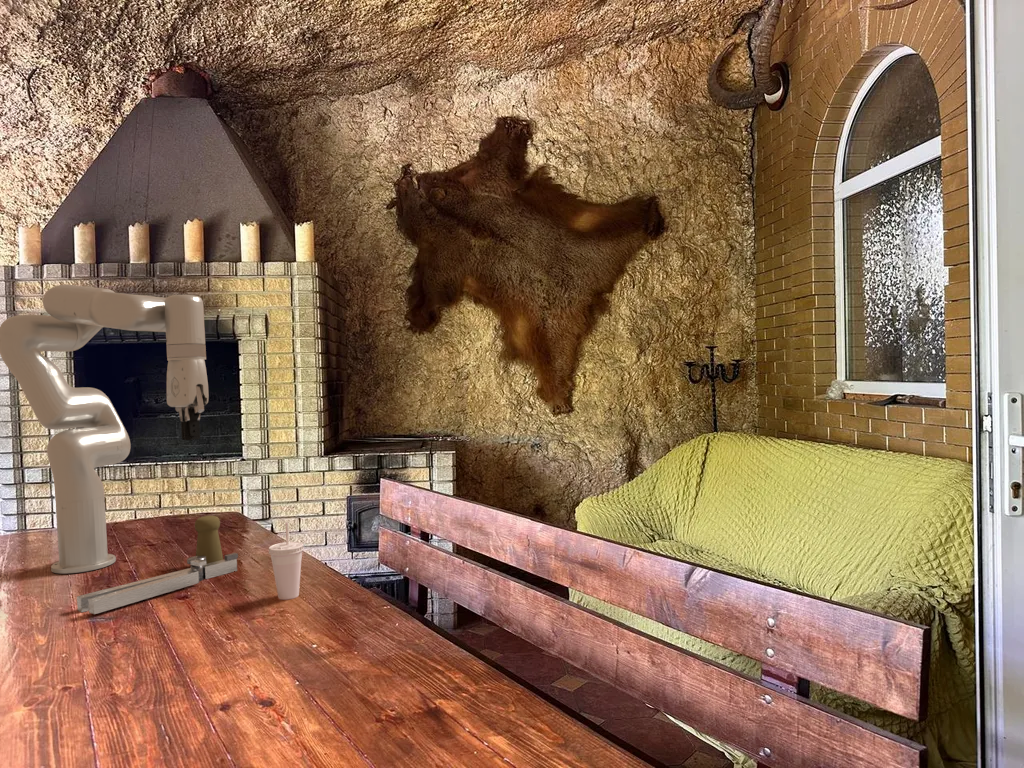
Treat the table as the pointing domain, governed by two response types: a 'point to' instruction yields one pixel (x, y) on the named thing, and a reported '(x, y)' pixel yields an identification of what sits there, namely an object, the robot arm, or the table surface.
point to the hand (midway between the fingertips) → (191, 439)
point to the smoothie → (287, 566)
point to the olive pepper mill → (208, 538)
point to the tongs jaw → (147, 589)
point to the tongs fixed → (204, 573)
